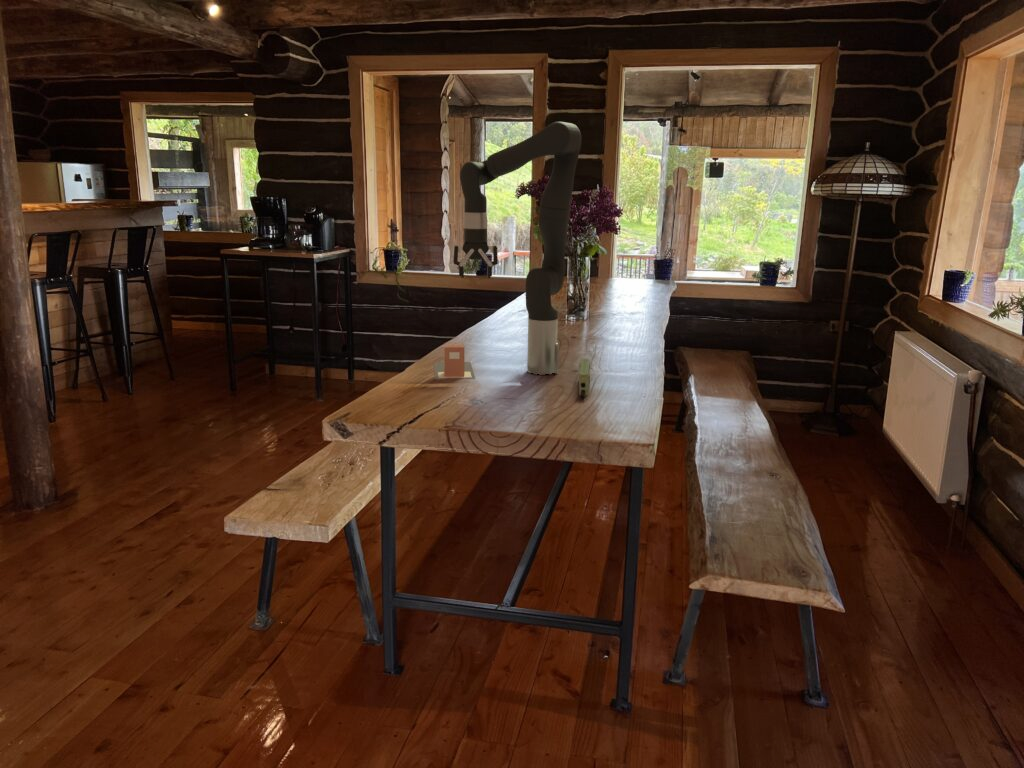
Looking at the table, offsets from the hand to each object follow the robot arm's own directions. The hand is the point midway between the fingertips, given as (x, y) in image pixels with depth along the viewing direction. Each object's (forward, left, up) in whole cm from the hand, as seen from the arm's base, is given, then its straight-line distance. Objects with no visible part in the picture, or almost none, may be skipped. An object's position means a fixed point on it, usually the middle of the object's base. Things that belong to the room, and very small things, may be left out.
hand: (475, 278), depth 237 cm
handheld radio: (-29, +36, -29) cm, 55 cm away
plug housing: (+8, +21, -27) cm, 35 cm away
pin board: (+8, +15, -28) cm, 33 cm away
